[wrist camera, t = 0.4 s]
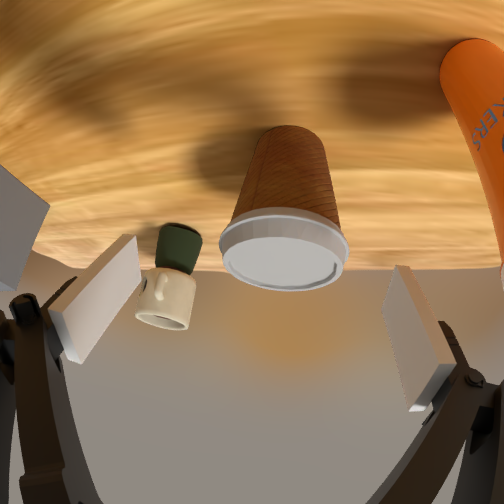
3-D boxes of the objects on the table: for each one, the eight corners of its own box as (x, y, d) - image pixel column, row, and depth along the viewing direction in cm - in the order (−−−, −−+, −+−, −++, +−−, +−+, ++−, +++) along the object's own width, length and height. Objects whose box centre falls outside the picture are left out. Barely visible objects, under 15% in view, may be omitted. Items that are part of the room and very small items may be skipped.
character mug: (152, 208, 39) (123, 303, 33) (205, 216, 39) (183, 315, 33) (163, 248, 49) (143, 327, 43) (207, 255, 49) (191, 336, 43)
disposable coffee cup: (339, 185, 31) (343, 295, 26) (248, 184, 33) (232, 290, 27) (343, 110, 23) (357, 234, 17) (229, 113, 25) (198, 231, 19)
